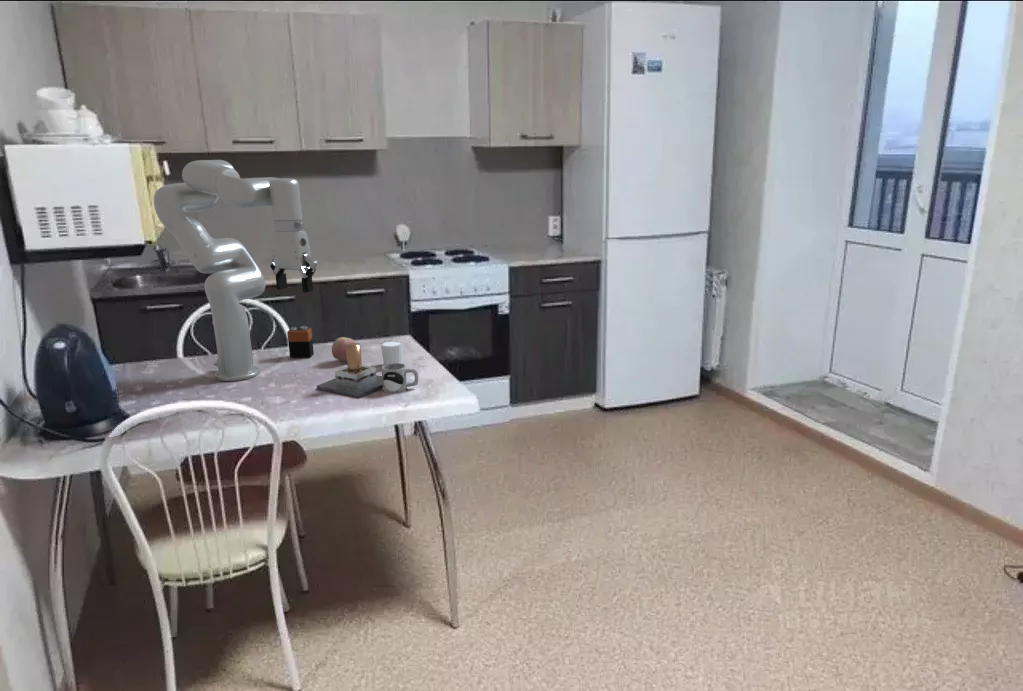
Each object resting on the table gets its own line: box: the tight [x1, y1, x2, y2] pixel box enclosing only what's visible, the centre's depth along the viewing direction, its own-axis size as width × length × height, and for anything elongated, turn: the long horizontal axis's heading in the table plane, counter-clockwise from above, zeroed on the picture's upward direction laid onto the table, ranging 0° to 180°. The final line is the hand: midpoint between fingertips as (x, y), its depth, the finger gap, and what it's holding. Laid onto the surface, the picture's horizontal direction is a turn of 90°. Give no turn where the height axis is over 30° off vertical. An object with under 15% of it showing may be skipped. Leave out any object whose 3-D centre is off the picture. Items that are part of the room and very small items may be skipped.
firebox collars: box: [316, 364, 383, 399], centre depth 201 cm, size 16×15×5 cm
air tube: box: [346, 342, 363, 381], centre depth 200 cm, size 4×4×11 cm
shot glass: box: [380, 340, 404, 365], centre depth 219 cm, size 7×7×7 cm
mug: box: [381, 363, 419, 394], centre depth 197 cm, size 10×7×7 cm, turn 91°
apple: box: [331, 336, 357, 362], centre depth 223 cm, size 8×8×8 cm
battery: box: [286, 325, 315, 359], centre depth 229 cm, size 4×7×10 cm, turn 89°
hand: (295, 290), depth 192 cm, fingers open, 9 cm apart
